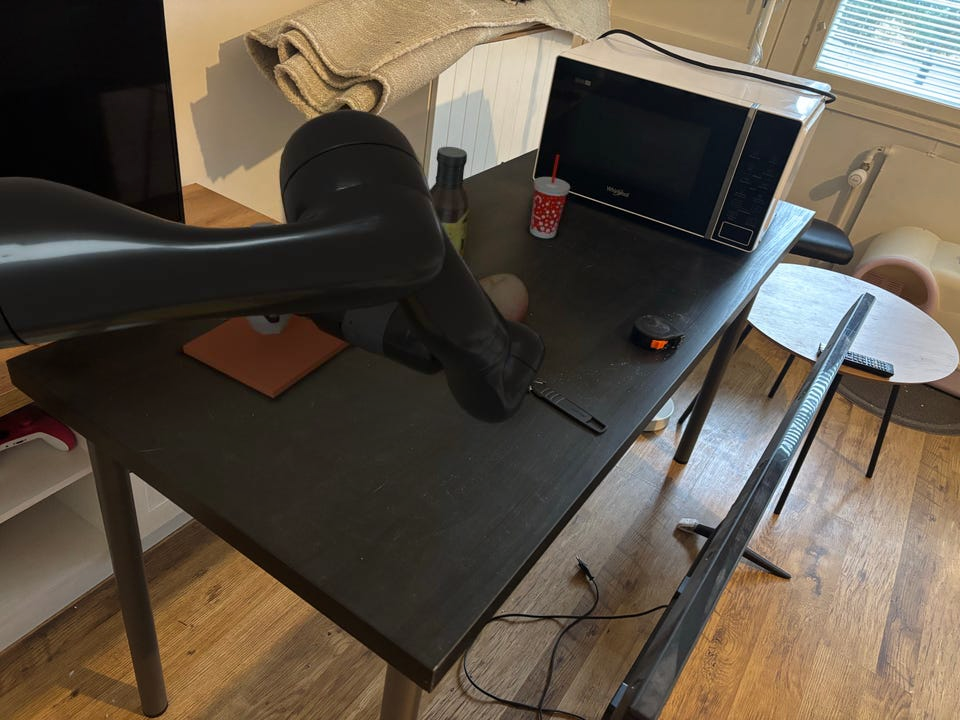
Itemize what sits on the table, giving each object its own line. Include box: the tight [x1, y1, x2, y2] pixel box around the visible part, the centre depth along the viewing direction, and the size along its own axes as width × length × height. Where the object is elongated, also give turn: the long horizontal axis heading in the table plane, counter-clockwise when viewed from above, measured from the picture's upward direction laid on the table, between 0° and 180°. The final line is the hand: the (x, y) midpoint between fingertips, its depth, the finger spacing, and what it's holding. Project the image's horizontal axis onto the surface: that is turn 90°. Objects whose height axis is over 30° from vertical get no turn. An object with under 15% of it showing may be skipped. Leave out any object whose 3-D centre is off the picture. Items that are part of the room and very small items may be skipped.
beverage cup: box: [529, 154, 571, 239], centre depth 125 cm, size 6×6×14 cm
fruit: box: [478, 272, 529, 323], centre depth 100 cm, size 8×8×8 cm
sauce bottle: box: [429, 146, 470, 259], centre depth 105 cm, size 6×6×20 cm
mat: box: [182, 314, 350, 399], centre depth 91 cm, size 14×14×1 cm
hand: (247, 262), depth 86 cm, fingers closed on salt shaker, 3 cm apart
